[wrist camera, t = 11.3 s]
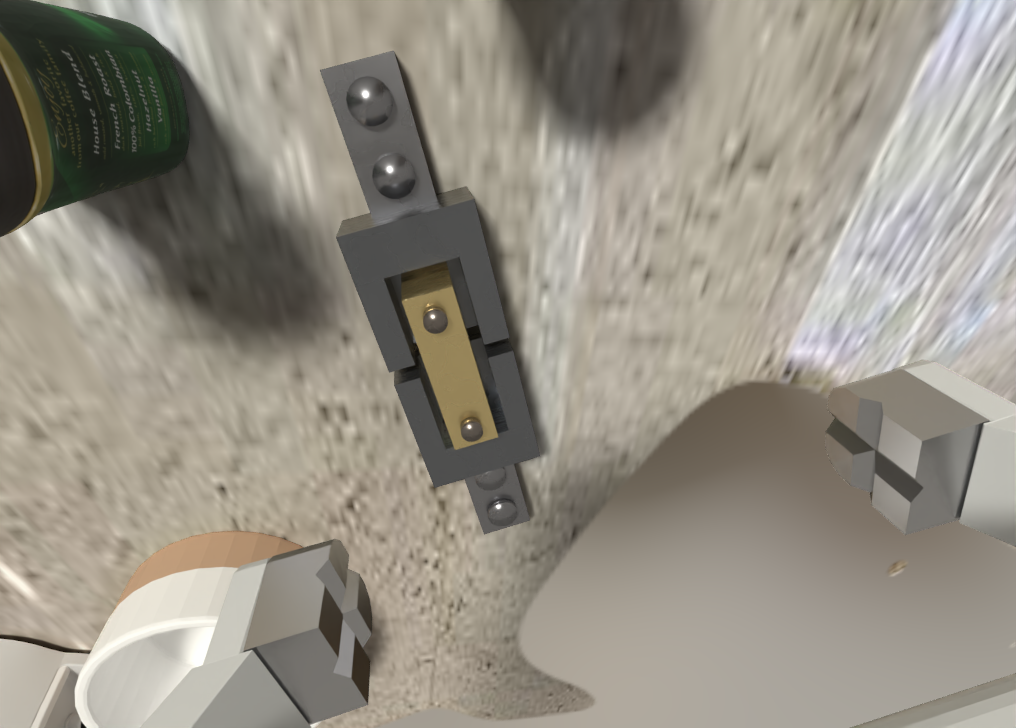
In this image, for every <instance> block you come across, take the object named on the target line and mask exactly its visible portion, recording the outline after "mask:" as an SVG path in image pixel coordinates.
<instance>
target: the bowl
mask: <svg viewBox="0 0 1016 728" xmlns="http://www.w3.org/2000/svg"><path fill="white" fill-rule="evenodd" d="M300 548H303V547H302V546H300V545H298V544H295V543H293V542H290V541H288V540H285V539H283V538H280V537H275V536H271V535H267V534H262V533H256V532H244V531H225V532H212V533H206V534H201V535H196V536H191V537H189V538H186V539H183V540H180V541H177V542H175V543H172V544H170V545H168V546H166V547H165V548H163V549H161V550H159V551H158V552H156V553H154V554H153V555H152V556H151V557H149V558H148V559H147V560H146V561H145V562H144V563H143V564H141V565H140V566H139V567H138V569H137V570H136V572H135V573H134V575H133V576H132V578H131V579H130V581H129V582H128V584H127V586H126V588H125V590H124V592H123V594H122V596H121V597H120V599H119V601H118V603H117V605H116V607H115V609H114V611H113V613H112V614H111V616H110V617H109V619H108V621H107V623H106V624H105V626H104V628H103V630H102V632H101V634H100V636H99V638H98V639H97V641H96V643H95V645H94V647H93V649H92V651H91V653H90V654H89V656H88V658H87V660H86V662H85V664H84V666H83V668H82V670H81V671H80V674H79V677H78V680H77V683H76V686H75V707H76V710H77V712H78V714H79V717H80V719H81V721H82V723H83V724H84V725H85V726H86V727H87V728H140V727H141V726H142V725H143V723H144V722H145V721H146V720H147V719H148V718H149V717H150V716H151V714H152V713H153V712H154V711H155V710H156V709H157V708H158V706H159V705H160V704H161V703H162V702H163V701H164V700H165V699H166V697H167V696H168V695H169V694H170V693H171V692H172V691H173V689H174V688H175V687H176V686H177V685H178V684H179V683H180V682H181V680H182V679H183V678H184V677H185V676H186V675H187V674H188V672H189V671H190V670H191V669H192V668H195V667H198V666H201V665H203V662H204V659H205V657H206V654H207V651H208V648H209V645H210V642H211V639H212V636H213V633H214V630H215V627H216V624H217V621H218V618H219V615H220V612H221V609H222V606H223V603H224V600H225V597H226V594H227V591H228V588H229V585H230V582H231V579H232V576H233V574H234V572H235V571H236V570H237V569H238V568H239V567H240V566H241V565H245V564H248V563H252V562H256V561H259V560H263V559H267V558H271V557H273V556H275V555H279V554H282V553H286V552H289V551H293V550H297V549H300ZM320 722H321V721H320ZM320 722H317V723H314V724H311V725H310V726H311V728H315V727H316V726H317V725H318V724H319V723H320Z"/></svg>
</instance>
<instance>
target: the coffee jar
mask: <svg viewBox="0 0 1016 728" xmlns="http://www.w3.org/2000/svg"><path fill="white" fill-rule="evenodd" d="M188 145H189V120H188V115H187V108H186V102H185V97H184V92H183V88H182V85H181V82H180V79H179V75H178V73H177V70H176V68H175V65H174V63H173V61H172V60H171V58H170V56H169V55H168V53H167V52H166V50H165V49H164V48H163V47H162V46H161V44H160V43H159V42H158V41H157V40H156V39H155V38H154V37H152V36H151V35H150V34H148V33H147V32H146V31H144V30H142V29H141V28H139V27H137V26H135V25H133V24H130V23H128V22H124V21H121V20H117V19H113V18H109V17H105V16H101V15H97V14H93V13H88V12H83V11H79V10H74V9H69V8H64V7H59V6H54V5H50V4H45V3H40V2H36V1H32V0H0V237H2V236H4V235H6V234H9V233H11V232H13V231H15V230H17V229H18V228H20V227H22V226H23V225H25V224H26V223H28V222H29V221H30V220H31V219H33V218H34V217H35V216H37V215H40V214H42V213H45V212H48V211H51V210H54V209H56V208H59V207H62V206H65V205H68V204H71V203H74V202H77V201H80V200H83V199H87V198H90V197H92V196H95V195H98V194H101V193H104V192H107V191H110V190H114V189H117V188H121V187H124V186H127V185H130V184H134V183H137V182H141V181H144V180H147V179H150V178H153V177H156V176H159V175H162V174H164V173H167V172H169V171H171V170H172V169H174V168H175V167H177V166H178V165H179V164H180V163H181V161H182V160H183V158H184V157H185V155H186V152H187V149H188Z"/></svg>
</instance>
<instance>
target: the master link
mask: <svg viewBox="0 0 1016 728" xmlns="http://www.w3.org/2000/svg"><path fill="white" fill-rule="evenodd" d="M401 296H402V304H403V307H404V309H405V312H406V315H407V318H408V321H409V323H410V326H411V329H412V332H413V334H414V337H415V340H416V343H417V346H418V348H419V351H420V354H421V357H422V360H423V362H424V365H425V368H426V371H427V373H428V376H429V379H430V382H431V385H432V387H433V390H434V393H435V396H436V399H437V401H438V404H439V407H440V410H441V413H442V415H443V418H444V421H445V424H446V426H447V429H448V432H449V435H450V438H451V440H452V443H453V446H454V449H455V450H457V449H461V448H464V447H467V446H471V445H474V444H477V443H481V442H484V441H487V440H491V439H494V438H497V437H498V434H497V430H496V427H495V423H494V419H493V416H492V412H491V409H490V405H489V401H488V398H487V395H486V391H485V388H484V385H483V381H482V378H481V375H480V371H479V368H478V365H477V362H476V358H475V355H474V352H473V348H472V345H471V342H470V338H469V335H468V332H467V329H466V325H465V322H464V319H463V315H462V312H461V309H460V305H459V302H458V299H457V296H456V292H455V289H454V286H453V282H452V279H451V276H450V272H449V269H448V266H447V263H446V261H444V262H440V263H437V264H433V265H430V266H426V267H423V268H419V269H415V270H412V271H408V272H405V273H401Z"/></svg>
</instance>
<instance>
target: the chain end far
mask: <svg viewBox="0 0 1016 728" xmlns="http://www.w3.org/2000/svg"><path fill="white" fill-rule="evenodd" d="M469 338H470V342H471V345H472V348H473V352H474V355H475V358H476V362H477V365H478V368H479V371H480V375H481V378H482V381H483V385H484V388H485V391H486V395H487V398H488V401H489V405H490V409H491V412H492V416H493V419H494V423H495V427H496V430H497V434H498V437H497V438H494V439H491V440H487V441H484V442H481V443H477V444H474V445H471V446H467V447H464V448H461V449H457V450H455V449H454V446H453V443H452V440H451V438H450V435H449V432H448V429H447V426H446V424H445V421H444V418H443V415H442V413H441V410H440V407H439V404H438V401H437V399H436V396H435V393H434V390H433V387H432V385H431V382H430V379H429V376H428V373H427V371H426V368H425V365H424V362H423V360H422V357H421V354H420V351H416V352H414V355H415V365H413V366H410V367H406V368H403V369H399V370H396V371H395V374H394V386H395V388H396V391H397V393H398V396H399V398H400V401H401V404H402V406H403V409H404V411H405V414H406V416H407V419H408V421H409V424H410V426H411V429H412V431H413V434H414V437H415V439H416V442H417V444H418V447H419V449H420V452H421V454H422V457H423V459H424V462H425V464H426V467H427V470H428V472H429V475H430V477H431V480H432V482H433V485H434V487H435V488H436V487H439V486H442V485H446V484H449V483H452V482H456V481H459V480H462V479H465V481H466V484H467V487H468V490H469V493H470V496H471V498H472V501H473V504H474V507H475V510H476V513H477V515H478V518H479V521H480V524H481V527H482V530H483V532H484V534H487V533H490V532H493V531H497V530H500V529H503V528H506V527H510V526H513V525H516V524H519V523H523V522H526V521H529V520H530V518H529V514H528V511H527V507H526V504H525V500H524V497H523V494H522V490H521V487H520V483H519V480H518V476H517V473H516V469H515V466H514V464H516V463H519V462H522V461H526V460H529V459H532V458H536V457H539V456H540V453H539V449H538V445H537V442H536V438H535V434H534V430H533V426H532V422H531V418H530V414H529V410H528V407H527V403H526V399H525V395H524V391H523V387H522V383H521V379H520V376H519V372H518V368H517V364H516V360H515V356H514V352H513V349H512V347H511V344H510V342H509V340H508V338H506V339H503V340H499V341H496V342H492V343H489V344H485V345H484V342H483V339H482V336H481V333H478V334H475V335H471V336H469Z"/></svg>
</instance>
